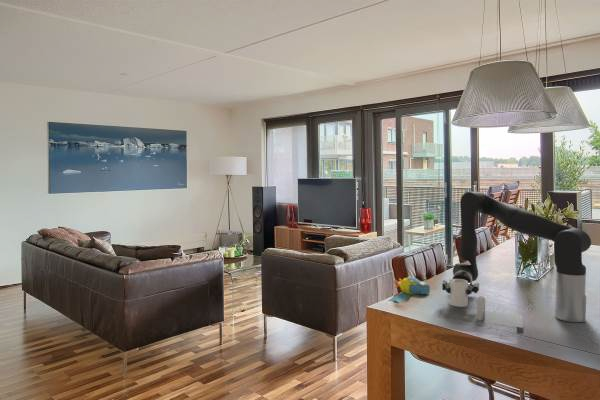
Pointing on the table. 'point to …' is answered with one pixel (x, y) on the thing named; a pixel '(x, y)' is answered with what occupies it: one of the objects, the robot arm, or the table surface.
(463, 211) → the robot arm
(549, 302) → the table surface
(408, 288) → the blue and yellow toy
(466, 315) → the shaft board
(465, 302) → the keyed collar
